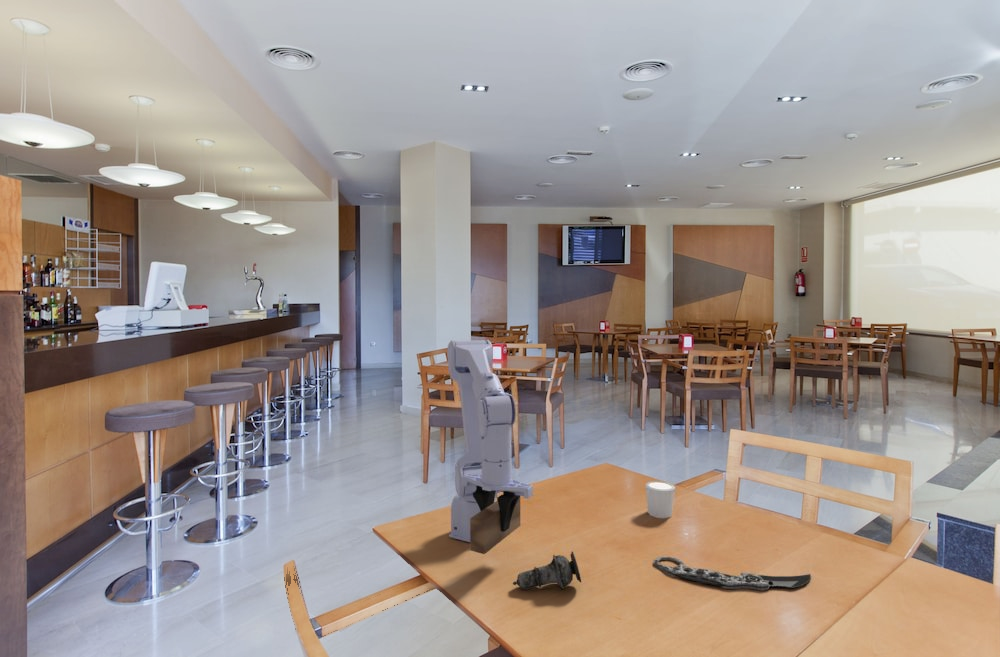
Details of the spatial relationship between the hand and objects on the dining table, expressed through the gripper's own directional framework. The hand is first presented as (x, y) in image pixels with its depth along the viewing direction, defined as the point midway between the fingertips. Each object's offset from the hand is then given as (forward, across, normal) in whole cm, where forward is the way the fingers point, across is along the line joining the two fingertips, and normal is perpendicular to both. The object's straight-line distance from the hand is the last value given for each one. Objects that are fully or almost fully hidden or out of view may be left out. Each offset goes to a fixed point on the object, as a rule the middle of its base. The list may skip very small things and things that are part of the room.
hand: (497, 527), depth 103 cm
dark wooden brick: (+2, 0, 0) cm, 2 cm away
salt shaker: (+4, +16, +2) cm, 17 cm away
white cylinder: (+9, +21, +43) cm, 49 cm away
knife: (+9, +40, +19) cm, 45 cm away
